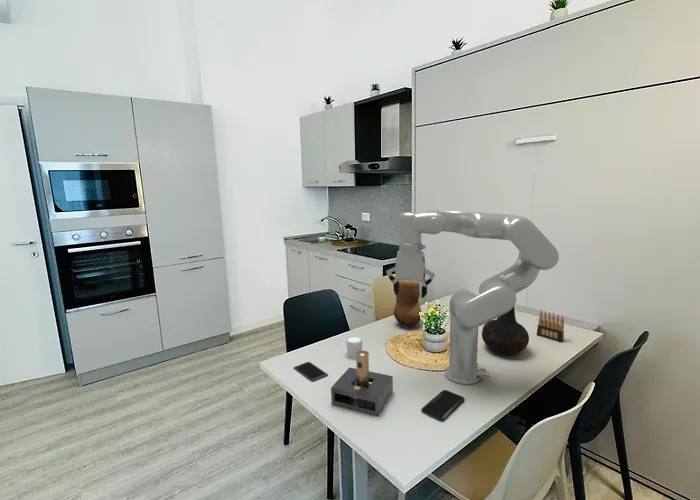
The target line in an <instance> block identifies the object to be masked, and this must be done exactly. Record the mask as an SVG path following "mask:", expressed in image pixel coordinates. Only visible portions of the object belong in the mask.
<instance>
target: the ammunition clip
mask: <svg viewBox="0 0 700 500" xmlns="http://www.w3.org/2000/svg"><path fill="white" fill-rule="evenodd" d="M564 320H565V318H564V315H561V316H559V314H557V315H555V313H552V315H551V312H550V311H549V312H548V314H547V311H546V310H545V311H544V312H543V310H542V309H541V310H540V312H539V316H538V322H537V323H538V324H537V330H536V336H537V337H541V338H543V339H547V340H551V341H554V342H558V343H561V344H562V343H563V342H564V340H565V339H564V336H565V330H564V328H565V327H564V326H565V321H564Z"/></svg>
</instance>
